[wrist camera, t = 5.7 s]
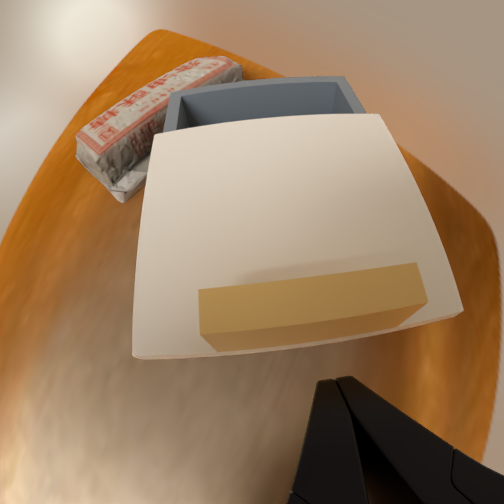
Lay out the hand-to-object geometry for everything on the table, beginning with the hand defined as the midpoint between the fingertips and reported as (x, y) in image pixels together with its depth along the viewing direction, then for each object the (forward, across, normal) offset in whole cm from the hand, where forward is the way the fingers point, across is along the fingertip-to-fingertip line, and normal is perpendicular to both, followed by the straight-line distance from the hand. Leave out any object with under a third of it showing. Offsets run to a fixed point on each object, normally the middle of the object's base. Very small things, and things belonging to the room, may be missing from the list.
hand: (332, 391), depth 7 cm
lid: (+7, 0, -3) cm, 8 cm away
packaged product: (+25, +8, -10) cm, 28 cm away
